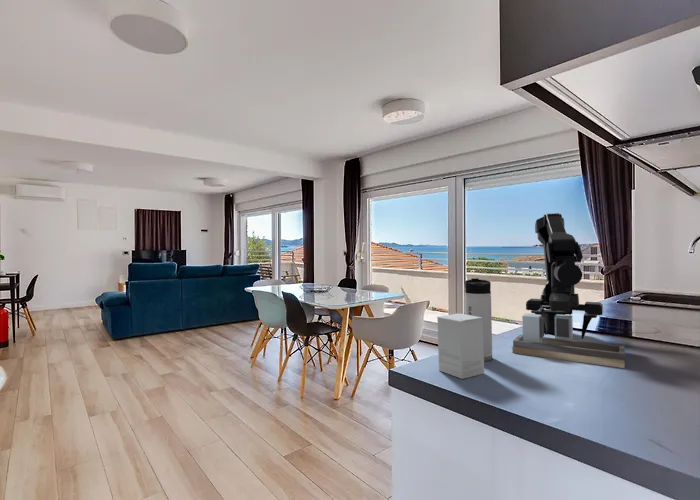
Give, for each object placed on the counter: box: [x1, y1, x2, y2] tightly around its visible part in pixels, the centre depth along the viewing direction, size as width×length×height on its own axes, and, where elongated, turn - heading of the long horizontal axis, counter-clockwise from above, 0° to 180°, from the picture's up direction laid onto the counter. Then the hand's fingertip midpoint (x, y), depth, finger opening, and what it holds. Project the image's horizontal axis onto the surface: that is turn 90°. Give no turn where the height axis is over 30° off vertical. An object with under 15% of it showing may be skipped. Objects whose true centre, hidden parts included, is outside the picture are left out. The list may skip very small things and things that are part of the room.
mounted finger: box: [521, 313, 545, 343], centre depth 101 cm, size 4×5×8 cm
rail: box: [511, 334, 626, 369], centre depth 97 cm, size 10×24×3 cm, turn 54°
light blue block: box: [554, 314, 574, 340], centre depth 107 cm, size 5×4×8 cm
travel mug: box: [464, 277, 493, 362], centre depth 96 cm, size 6×7×20 cm
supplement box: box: [437, 313, 485, 380], centre depth 85 cm, size 7×7×13 cm
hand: (563, 336), depth 107 cm, fingers open, 9 cm apart
